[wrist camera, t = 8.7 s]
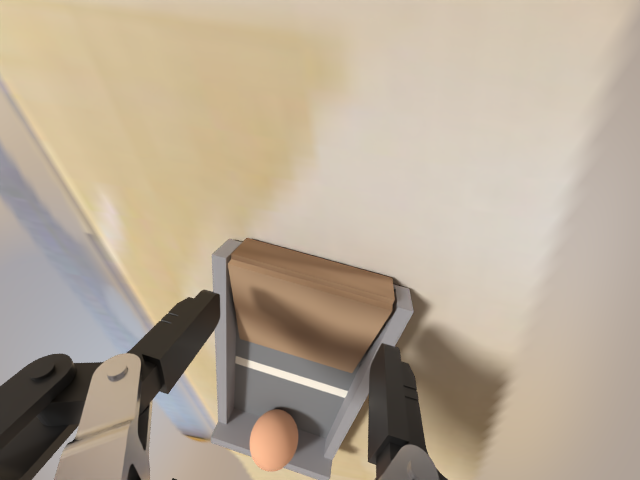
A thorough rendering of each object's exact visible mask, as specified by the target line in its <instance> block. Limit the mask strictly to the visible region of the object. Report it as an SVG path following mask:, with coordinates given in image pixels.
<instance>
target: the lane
mask: <svg viewBox="0 0 640 480" xmlns="http://www.w3.org/2000/svg"><path fill="white" fill-rule="evenodd" d="M241 243H242V242H239V241H236V240H232V239H228V240H227V241H226V242H225V243H224V244H223V245H222V246H221V247H220V248H218V249H217V250H216V251H215V252H214V253H213V254H212V271H213V292H214V293H218V294H219V295H220V320H219V323H218V325H217V327H216V328H215V348H216V374H217V399H218V423H217V425H216V427H215V429H214V431H213V433H212V435H211V443H213V444H216V445H219V446H222V447H225V448H228V449H231V450H233V451H236V452H239V453H242V454H245V455H248V456H251V452H250V436H251V432H252V429H253V427H254V425H255V423H256V421H257V420H258V419H259V418H260V417H261V416H262V415H263V414H264V413H266V412H268V411H270V410H274V409H280V410H283V411H286V412H287V413H289V414H290V415H291V416H292V418H293V419H294V421H295V423H296V425H297V429H298V445H297V449H296V452H295V454H294V456H293V458H292V459H291V461H290V462H289V463H288V464H287V465H286V466H285V467H283V468H286V469H289V470H291V471H294V472H297V473H300V474H303V475H306V476H309V477H312V478H315V479H318V480H329V479H330V474H331V466H332V460H333V458H334V456H335V454H336V452H337V450H338V449H339V447H340V445H341V443H342V441H343V440H344V438H345V436H346V434H347V432H348V430H349V429H350V427H351V425H352V423H353V421H354V420H355V418H356V416H357V414H358V412H359V410H360V409H361V407H362V405H363V403H364V401H365V400H366V398H367V396H368V394H369V374H370V367H371V364H372V361H373V359H374V357H375V355H376V353H377V351H378V349H379V347H380V345H381V344H382V343H384V344H388V345H391V346H394V347H395V345H396V343H397V341H398V340H399V338H400V336H401V334H402V332H403V330H404V329H405V327H406V325H407V323H408V321H409V320H410V318H411V316H412V314H413V312H414V310H413V305H412V300H411V295H410V290H409V288H405V287H402V286H398V285H394V284H393V288H394V297H395V300H394V302H393V305H392V312H391V314H390V315H389V317H388V319H387V320H386V322H385V323H384V325H383V326H382V328H381V329H380V331H379V332H378V334H377V336H376V337H375V339H374V340H373V342H372V343H371V345H370V346H369V348H368V349H367V351H366V352H365V354H364V356H363V357H362V359H361V360H360V362H359V363H358V365H357V366H356V368H355V369H354V371H353V373H349V372H346V371H343V370H339V369H336V368H333V367H330V366H327V365H323V364H320V363H317V362H314V361H310V360H307V359H304V358H301V357H297V356H294V355H291V354H288V353H284V352H281V351H278V350H275V349H271V348H268V347H265V346H262V345H258V344H255V343H252V342H249V341H245V340H242V339H240V337H239V331H238V324H237V318H236V312H235V306H234V300H233V293H232V287H231V281H230V275H229V269H228V263H229V261H230V260H231V254H232V253H233V252H234V251H235V249H236V248H237V247H238V246H239V245H240V244H241ZM251 457H252V456H251Z"/></svg>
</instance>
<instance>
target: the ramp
mask: <svg viewBox="0 0 640 480" xmlns="http://www.w3.org/2000/svg"><path fill="white" fill-rule="evenodd" d="M228 269H229V275H230V281H231V287H232V293H233V300H234V306H235V312H236V318H237V324H238V331H239V337H240V339H242V340H245V341H249V342H252V343H255V344H258V345H262V346H265V347H268V348H271V349H275V350H278V351H281V352H284V353H288V354H291V355H294V356H297V357H301V358H304V359H307V360H310V361H314V362H317V363H320V364H323V365H327V366H330V367H333V368H336V369H339V370H343V371H346V372H349V373H353V371H354V369H355V368H356V366H357V365H358V363H359V362H360V360H361V359H362V357H363V356H364V354H365V352H366V351H367V349H368V348H369V346H370V345H371V343H372V342H373V340H374V339H375V337H376V336H377V334H378V332H379V331H380V329H381V328H382V326H383V325H384V323H385V322H386V320H387V319H388V317H389V315H390V314H391V312H392V305H393V302H394V300H395V297H394V288H393V279H392V278H391V277H387V276H384V275H380V274H377V273H373V272H369V271H366V270H362V269H358V268H355V267H351V266H348V265H344V264H340V263H337V262H333V261H329V260H326V259H322V258H319V257H315V256H311V255H308V254H304V253H300V252H297V251H293V250H290V249H286V248H282V247H279V246H275V245H271V244H268V243H264V242H260V241H257V240H253V239H250V238H246V239H245V240H244V241H243V242H242V243H241V244H240V245H239V246H238V247H237V248H236V249H235V251H234V252H233V253H232V254H231V260H230V261H229V263H228Z"/></svg>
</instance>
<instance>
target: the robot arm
mask: <svg viewBox="0 0 640 480" xmlns="http://www.w3.org/2000/svg"><path fill="white" fill-rule="evenodd" d="M219 320H220V295H219V294H218V293H214V292H211V291H207V290H202V291H201V292H200V293H199V294H198V295H197V296H196V297H195V298H194V299H193V298H190V297H188V298H187V299H185V300H183V301H181V302H179V303H177V304H176V305H175V306H174V307H173V308H172V309H171V310H170V311H169V313H168V314H166V315H165V316H164V317H163V318H162V319H161V321H159V322H158V323H157V324H156V325H155V326H154V327H153V328H152V329H151V330H150V331H149V332H148V333H147V334H146V335H145V336H144V337H143V338H142V339H141V340H140V341H139V342H138V343H137V344H136V345H135V346H134V347H133V348H132V349H131V350H130V351H128V352H127V353H125V354H120V355H116V356H114V357H112V358H110V359H108V360H106V361H105V362H100V363H73V361H72V359H71V358H70V357H69V356H68V355H65V354H52V355H48V356H45V357H42V358H39V359H38V360H35V361H33V362H32V363H30V364H28V365H27V366H26V367H24V368H23V369H22V370H20V371H19V372H18V373H17V374H15V375H14V376H13V377H12V378H10V379H9V380H8V381H7V382H5V383H4V384H3V385H2V386H0V480H32V479H33V477H34V476H35V475H36V474H37V473H38V472H39V470H40V469H41V468H42V467H43V466H44V465H45V464H46V462H47V461H48V460H49V459H50V458H51V457H52V456H53V454H54V453H55V452H56V451H57V450H58V449H59V447H60V446H61V445H62V444H63V443H64V442H65V440H66V439H67V438H68V437H69V436H70V435H71V434H72V433H73V431H74V430H75V429H76V428H77V427H78V426H79V427H78V431H77V434H76V437H75V439H74V440H73V441H72V442H70V443H68V444H67V445H66V447H65V448H64V450H63V453H62V455H61V458H60V462H59V464H58V468H57V471H56V474H55V478H54V480H150V466H149V441H150V428H151V427H150V426H151V414H152V400H153V398H154V397H155V396H156V395H157V393H158V392H159V391H160V392H163V393H166V394H168V393H169V392H170V391H171V389H172V388H173V386H174V385H175V384H176V382H177V381H178V379H179V378H180V377H181V375H182V374H183V373H184V371H185V370H186V368H187V367H188V366H189V364H190V363H191V361H192V360H193V359H194V357H195V356H196V355H197V353H198V352H199V350H200V349H201V348H202V346H203V345H204V343H205V342H206V341H207V339H208V338H209V337H210V335H211V334H212V332H213V331H214V330H215V328H216V327H217V325H218V323H219ZM416 390H417V387H416V381H415V376H414V374H413V372H412V370H411V368H410V366H409V364H408V363H404V362H401V357H400V350H399V348H398V347H394V346H391V345H388V344H384V343H382V344H381V345H380V347H379V349H378V351H377V353H376V355H375V357H374V359H373V361H372V364H371V367H370V374H369V427H368V462H369V463H372V464H375V465H376V478H375V480H448V479H446V478H445V477H444V476H443V475H442V474H441V473H440V472H439V471H438V470H437V468H436V467H435V465H434V463H433V461H432V460H431V458H430V457H429V455H428V452H427V449H426V445H425V439H424V433H423V426H422V420H421V413H420V407H419V403H418V394H417V391H416ZM172 480H176V479H174V478H173V479H172Z"/></svg>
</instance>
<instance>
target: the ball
mask: <svg viewBox="0 0 640 480" xmlns="http://www.w3.org/2000/svg"><path fill="white" fill-rule="evenodd" d="M297 445H298V429H297V425H296V423H295V421H294V419H293V418H292V416H291V415H290V414H289V413H287V412H286V411H283V410H280V409H274V410H270V411H268V412H266V413H264V414H263V415H262V416H261V417H260V418H259V419H258V420H257V421H256V423H255V425H254V427H253V429H252V432H251V436H250V452H251V456H252V458H253V460H254V462H255V463H256V465H257V466H258V467H260V468H261V469H263V470H265V471H277V470H280V469H282V468H283V467H285V466H286V465H287V464H288V463H289V462H290V461H291V459H292V458H293V456H294V454H295V452H296V449H297Z"/></svg>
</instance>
